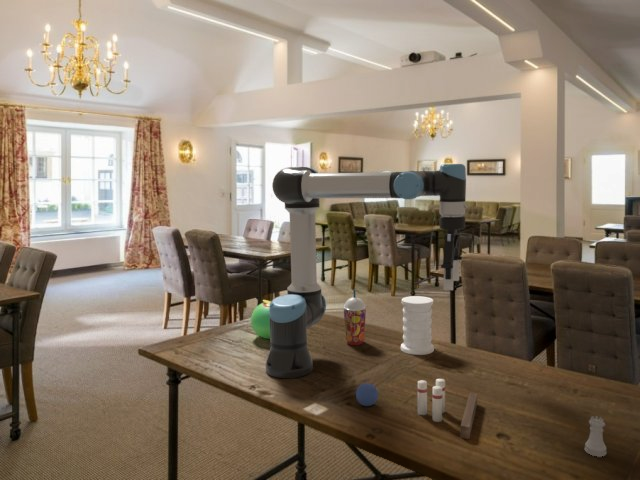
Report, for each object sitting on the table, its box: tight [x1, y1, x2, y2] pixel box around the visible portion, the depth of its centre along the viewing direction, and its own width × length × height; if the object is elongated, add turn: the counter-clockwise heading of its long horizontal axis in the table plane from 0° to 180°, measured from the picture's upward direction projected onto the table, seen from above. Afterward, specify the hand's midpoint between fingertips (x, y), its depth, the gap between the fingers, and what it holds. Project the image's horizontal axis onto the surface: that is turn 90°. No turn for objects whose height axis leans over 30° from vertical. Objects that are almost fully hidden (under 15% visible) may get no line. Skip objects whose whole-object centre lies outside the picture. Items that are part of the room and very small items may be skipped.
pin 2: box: [431, 385, 443, 423], centre depth 137 cm, size 2×2×8 cm
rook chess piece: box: [584, 415, 608, 458], centre depth 119 cm, size 4×4×8 cm
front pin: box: [417, 379, 428, 416], centre depth 140 cm, size 2×2×8 cm
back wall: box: [460, 392, 478, 440], centre depth 136 cm, size 2×20×3 cm, turn 159°
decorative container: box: [400, 295, 435, 356], centre depth 189 cm, size 12×12×18 cm
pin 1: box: [435, 378, 446, 414], centre depth 141 cm, size 2×2×8 cm
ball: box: [355, 382, 379, 407], centre depth 146 cm, size 6×6×6 cm
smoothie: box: [342, 289, 367, 346], centre depth 197 cm, size 8×8×20 cm
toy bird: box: [250, 299, 272, 340], centre depth 206 cm, size 18×17×15 cm
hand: (451, 285), depth 164 cm, fingers open, 13 cm apart
